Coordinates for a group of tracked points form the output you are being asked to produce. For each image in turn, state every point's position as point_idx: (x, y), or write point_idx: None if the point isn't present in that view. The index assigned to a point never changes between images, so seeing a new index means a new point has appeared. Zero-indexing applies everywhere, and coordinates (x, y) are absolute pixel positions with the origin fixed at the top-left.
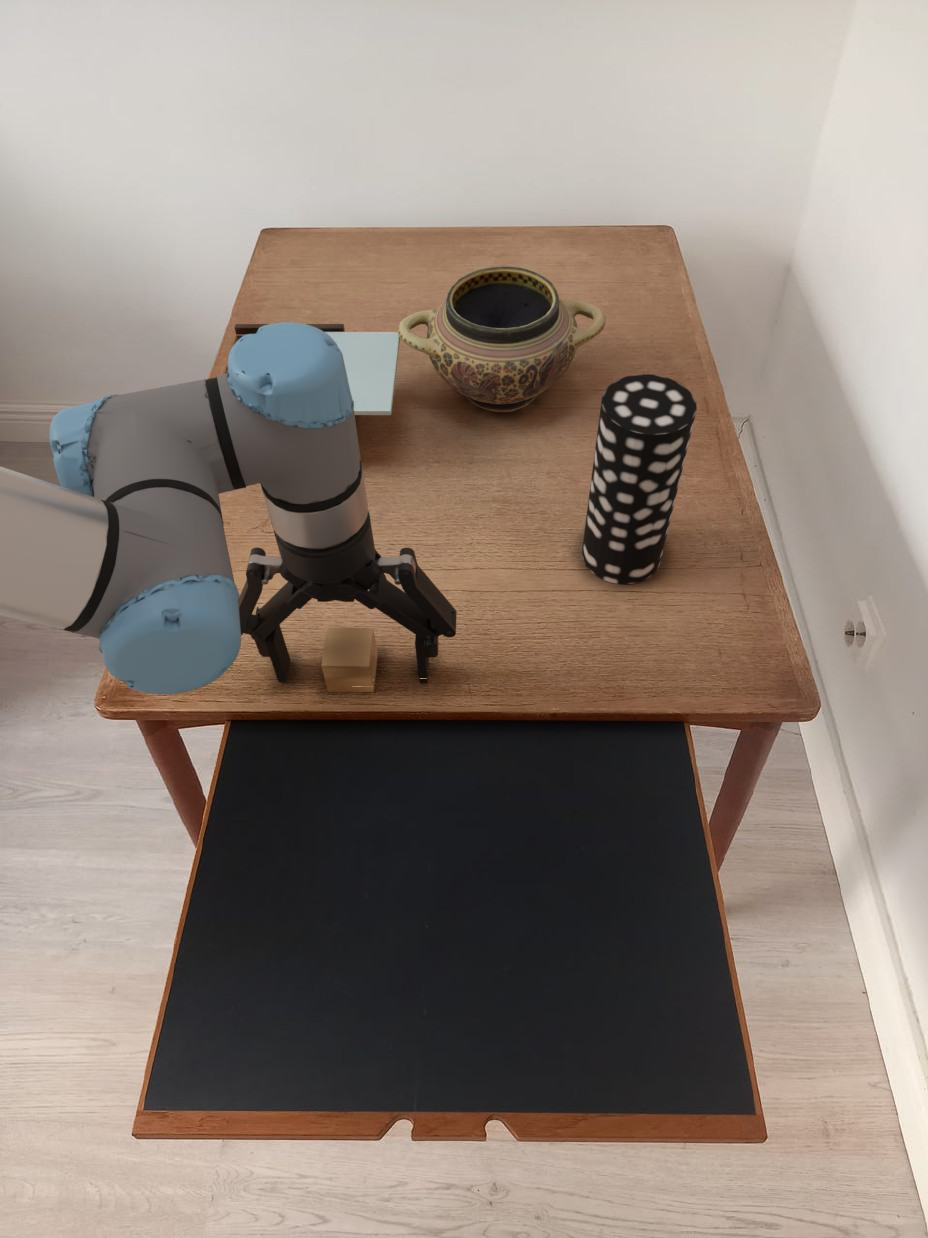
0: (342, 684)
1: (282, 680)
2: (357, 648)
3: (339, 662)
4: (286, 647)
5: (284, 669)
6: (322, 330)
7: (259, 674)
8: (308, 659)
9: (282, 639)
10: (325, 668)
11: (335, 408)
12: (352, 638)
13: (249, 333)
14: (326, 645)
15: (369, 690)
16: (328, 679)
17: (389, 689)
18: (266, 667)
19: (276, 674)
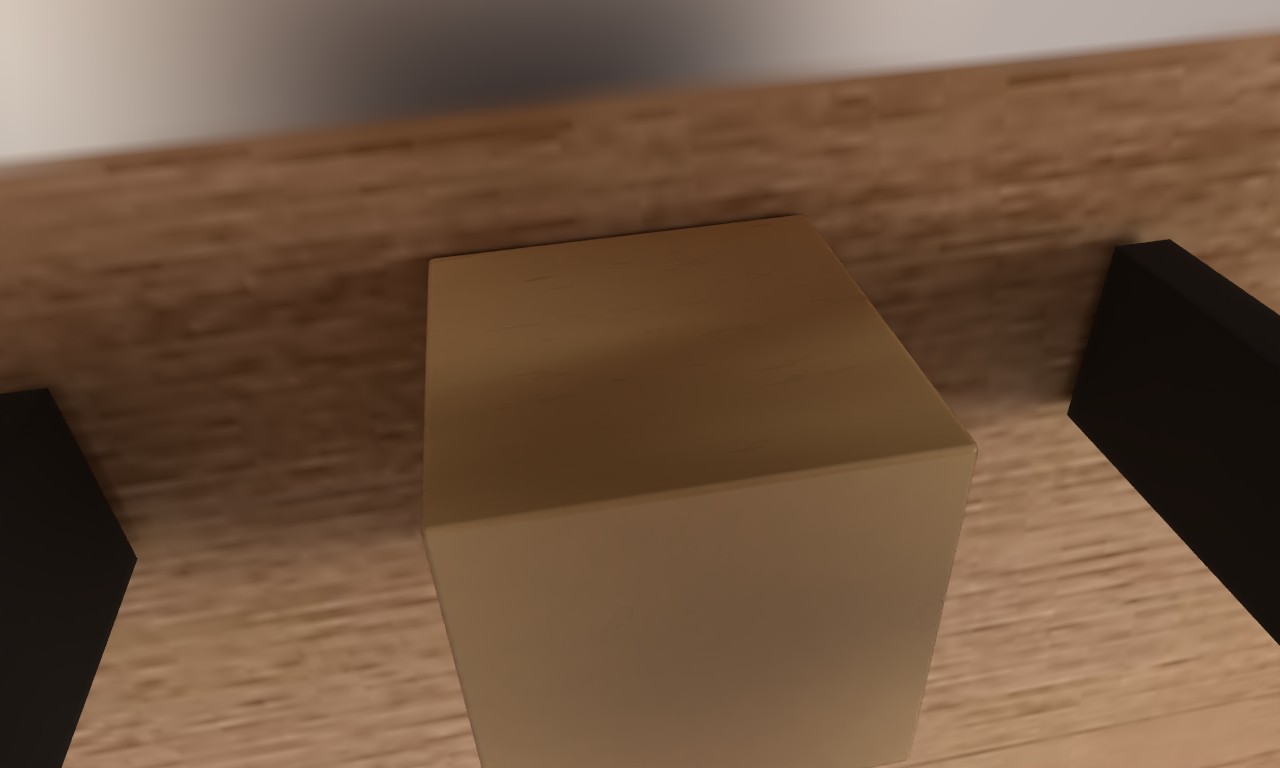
0: (701, 283)
1: (1155, 256)
2: (606, 669)
3: (780, 514)
4: (1160, 509)
5: (1174, 341)
6: None
7: (1273, 282)
8: None
9: (1272, 598)
10: (918, 419)
11: None
12: (674, 733)
13: None
14: (918, 638)
15: (464, 267)
16: (840, 308)
17: (305, 301)
18: None
19: (1241, 292)
